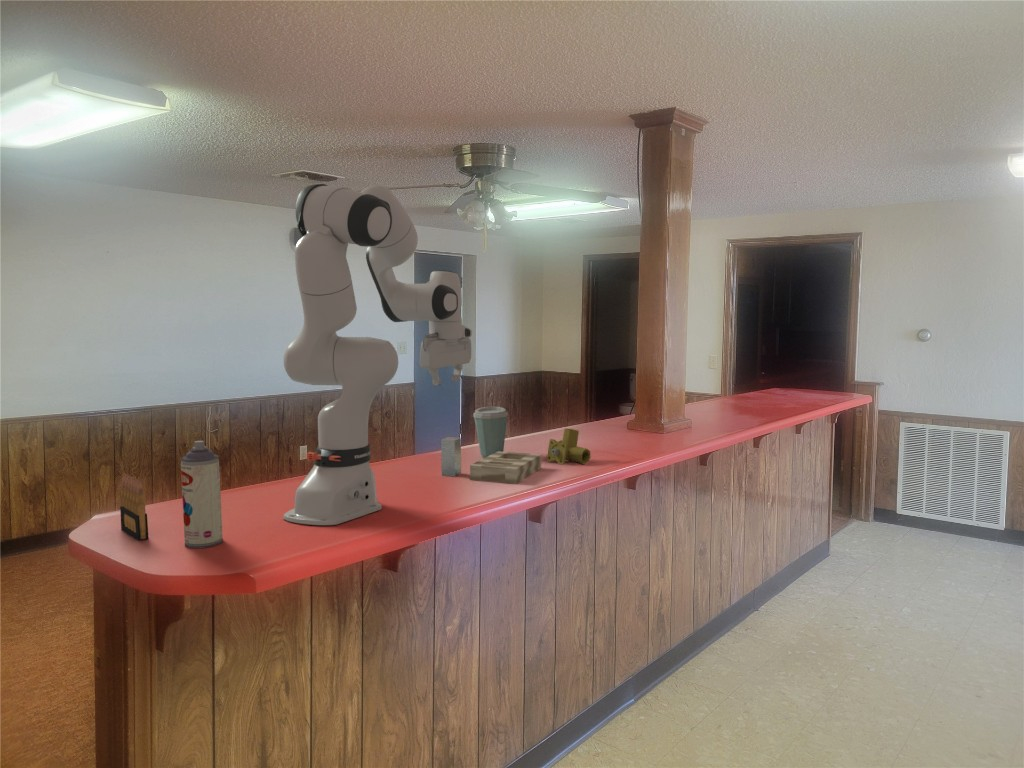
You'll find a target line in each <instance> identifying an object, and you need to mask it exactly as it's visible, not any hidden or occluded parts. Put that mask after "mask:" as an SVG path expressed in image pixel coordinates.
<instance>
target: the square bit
mask: <svg viewBox="0 0 1024 768" xmlns="http://www.w3.org/2000/svg"><path fill="white" fill-rule="evenodd" d="M440 439H441V438H440ZM440 442H441V443H440V445H441V446H440V447H441V451H440V452H441V455H440V456H441V476H443V477H453V478H455V477H457V476H460V475H462V439H461V437H454V436H453V437H452V436H447V437H445V438H442V439H441V441H440Z"/></svg>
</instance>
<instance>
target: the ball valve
mask: <svg viewBox="0 0 1024 768" xmlns="http://www.w3.org/2000/svg"><path fill="white" fill-rule="evenodd" d="M579 432H580V431H579V430H578V429H573V428H564V430H563V435H562V439H560V440H559V441H557V440H556V439H554V438H550V439H549V442H548V448H547V449H548V450H547V456H546V460H547V461H548V463H552V462H553V461H556V463H557V464H558V465H562V466H564V465H565V464H566V462H575V463H578V464H581V465H586V464H587V463H589V462H590V459H591V450H589V449H588V448H585V447H581V446H578V441H579Z"/></svg>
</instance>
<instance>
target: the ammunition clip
mask: <svg viewBox="0 0 1024 768" xmlns="http://www.w3.org/2000/svg"><path fill="white" fill-rule="evenodd" d="M120 499H121V505H120V507H119V509H120V510H119V511H120V530H121V531H122V532H123V533H125V534H127V535H128V536H130V537H131V538H133V539H135V540H137V541H138V542H140V541H145V540H149V539H150V537H149V525H148V513H146V501H145V496H144V488H143V483H142V482H141V479H138V478H137V477H136V478H135V477H134V476H131V475H129V474H126V473H125V472H123V473H122V477H121V493H120Z"/></svg>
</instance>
